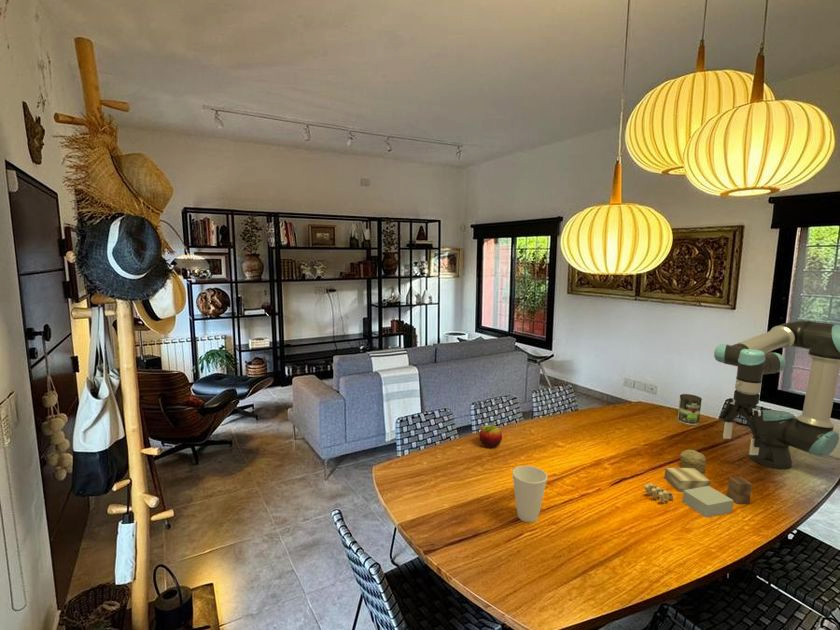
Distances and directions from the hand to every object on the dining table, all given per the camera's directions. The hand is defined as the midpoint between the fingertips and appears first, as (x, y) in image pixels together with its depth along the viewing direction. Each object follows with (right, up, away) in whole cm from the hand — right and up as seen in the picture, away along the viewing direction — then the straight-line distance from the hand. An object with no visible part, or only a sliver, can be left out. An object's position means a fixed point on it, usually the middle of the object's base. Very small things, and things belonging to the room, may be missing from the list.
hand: (739, 446), depth 165 cm
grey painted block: (-14, -22, -3) cm, 26 cm away
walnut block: (+1, -21, +2) cm, 21 cm away
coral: (-2, -18, +26) cm, 31 cm away
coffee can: (+28, -10, +77) cm, 83 cm away
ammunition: (-29, -21, +3) cm, 36 cm away
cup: (-82, -22, -9) cm, 85 cm away
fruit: (-86, -13, +46) cm, 98 cm away
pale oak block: (-13, -20, +12) cm, 26 cm away
